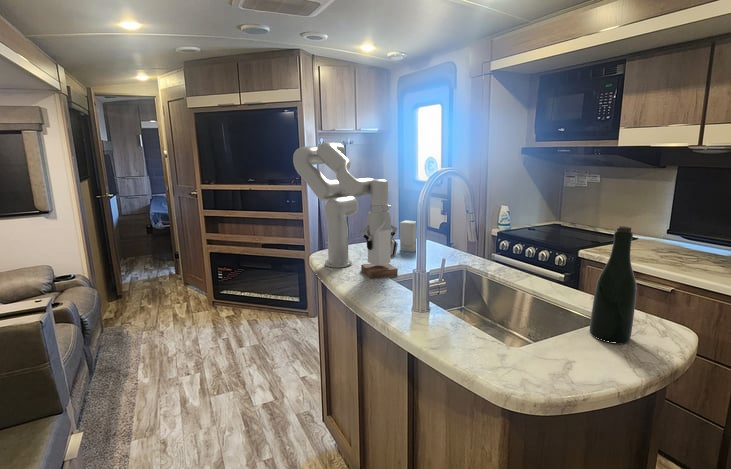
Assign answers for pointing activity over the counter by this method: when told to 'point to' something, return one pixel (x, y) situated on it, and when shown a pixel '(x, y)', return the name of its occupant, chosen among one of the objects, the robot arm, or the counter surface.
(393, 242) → the grey rounded slab
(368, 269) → the walnut stand
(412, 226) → the skincare box
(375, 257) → the milk carton
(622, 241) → the dark green wine bottle
